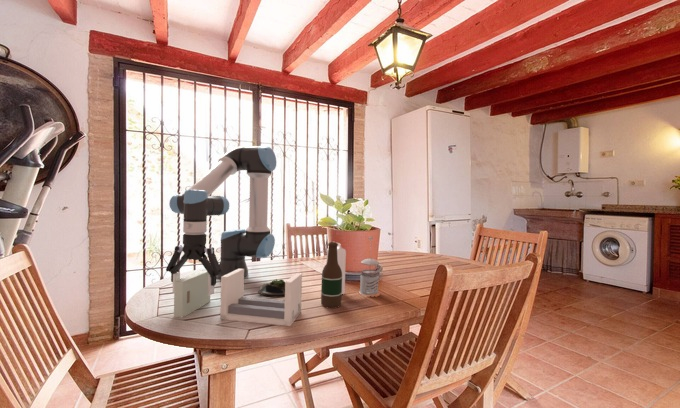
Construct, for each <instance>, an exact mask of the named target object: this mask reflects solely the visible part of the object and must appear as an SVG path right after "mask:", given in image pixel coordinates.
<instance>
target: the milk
mask: <svg viewBox="0 0 680 408" xmlns="http://www.w3.org/2000/svg"><path fill="white" fill-rule="evenodd" d="M335 242H336V241H335ZM336 243H337V244H338V246H337V260H338V265H339V266H340V268H341V271H342V294H343V295H345V294H344V293H346V292H345V291H346V290H345V289H346V265H347V264H346V260H347V259H346V258H347V249H345V248H343V247H342V244H341V243H340V242H336ZM328 249H329V247H328V248H326V260H325V261H326V264H327V260H328ZM326 264H325V265H326Z"/></svg>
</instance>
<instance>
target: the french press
mask: <svg viewBox="0 0 680 408" xmlns="http://www.w3.org/2000/svg"><path fill="white" fill-rule="evenodd" d="M368 239H369V240H374V237H373V236H369V237H368ZM369 244H370V245H369V246H370V248H369V249H370V251H369V252H370V253H369V258H365V259H363V260H361V261H360V264H361V265H364V266H374V267H375V269H378V270H379V271H378V270H375V269H374V270H373V269H370V268H368V269H362V270H361V274H360V281H359V283H360V284H359V286H360V288H359V291H358V292H359V293H360V294H362V295H375V294H377V293H378V292H379V281H380V280H382V277H383V274H381V270H383V268H382V266H381V265H380V261H378V260H377V259H375V258H371V257H372V255H371V252H372V242H370V243H369ZM376 266H377V267H376ZM380 269H381V270H380ZM378 273H379V274H378ZM379 277H380V278H379Z"/></svg>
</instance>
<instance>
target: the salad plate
mask: <svg viewBox="0 0 680 408" xmlns="http://www.w3.org/2000/svg"><path fill="white" fill-rule="evenodd" d="M285 282H286V281H284V280H283V279H279V280H278V279H277V278H276V279H274V280H272V281H270V282H268V283H264V284H261V285H260V286H259V287H260V288H259V290H258V291H257V293H258V294H261V295H263V296H265V297H268V298H269V297H270V298H282V297H285Z"/></svg>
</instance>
